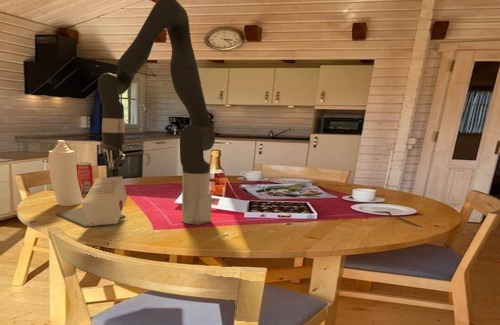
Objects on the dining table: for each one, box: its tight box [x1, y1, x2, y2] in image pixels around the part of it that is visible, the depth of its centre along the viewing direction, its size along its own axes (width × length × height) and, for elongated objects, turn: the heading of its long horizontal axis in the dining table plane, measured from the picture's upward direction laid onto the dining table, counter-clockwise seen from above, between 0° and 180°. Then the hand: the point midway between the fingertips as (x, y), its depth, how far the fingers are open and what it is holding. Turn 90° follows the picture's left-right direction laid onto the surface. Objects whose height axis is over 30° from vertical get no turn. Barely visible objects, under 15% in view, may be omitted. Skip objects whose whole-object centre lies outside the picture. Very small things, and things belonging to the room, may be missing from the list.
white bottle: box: [48, 139, 84, 207], centre depth 123 cm, size 12×11×25 cm
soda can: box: [76, 161, 94, 194], centre depth 144 cm, size 7×7×13 cm
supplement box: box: [81, 176, 128, 227], centre depth 105 cm, size 9×9×15 cm
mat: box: [55, 206, 127, 228], centre depth 111 cm, size 20×14×1 cm
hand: (114, 178), depth 117 cm, fingers closed
